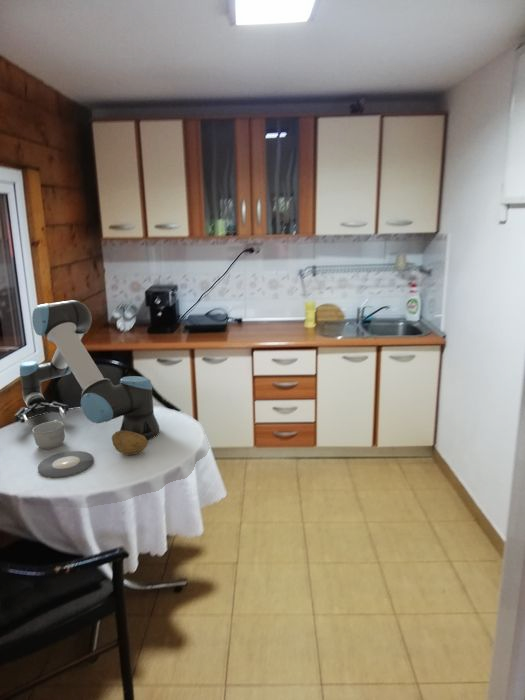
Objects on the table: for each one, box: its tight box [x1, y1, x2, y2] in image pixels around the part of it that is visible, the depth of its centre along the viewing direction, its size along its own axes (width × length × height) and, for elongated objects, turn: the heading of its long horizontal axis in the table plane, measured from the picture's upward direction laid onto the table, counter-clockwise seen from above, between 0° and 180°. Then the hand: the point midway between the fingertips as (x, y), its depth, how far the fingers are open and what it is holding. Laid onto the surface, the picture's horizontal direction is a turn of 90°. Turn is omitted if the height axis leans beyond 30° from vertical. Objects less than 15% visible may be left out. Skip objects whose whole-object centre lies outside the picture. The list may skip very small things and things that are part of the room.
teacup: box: [32, 419, 66, 450], centre depth 187 cm, size 14×11×8 cm
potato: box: [111, 430, 148, 456], centre depth 178 cm, size 10×14×8 cm
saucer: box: [37, 450, 95, 479], centre depth 171 cm, size 18×18×1 cm
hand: (45, 419), depth 195 cm, fingers open, 13 cm apart
